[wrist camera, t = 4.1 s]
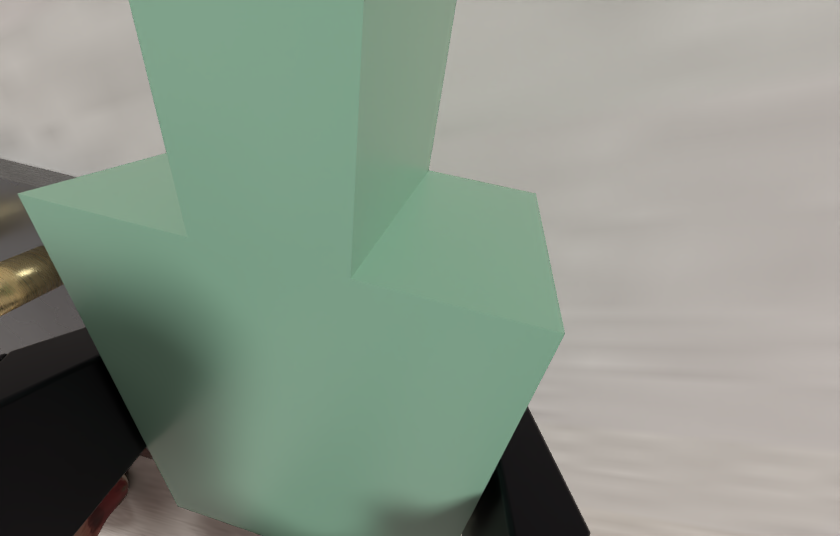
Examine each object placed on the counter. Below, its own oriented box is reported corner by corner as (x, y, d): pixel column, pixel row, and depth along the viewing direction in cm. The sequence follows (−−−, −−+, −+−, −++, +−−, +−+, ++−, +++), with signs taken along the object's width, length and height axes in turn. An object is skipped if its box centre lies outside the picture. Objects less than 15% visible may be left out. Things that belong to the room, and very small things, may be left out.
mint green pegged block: (595, 20, 5) (765, -56, 2) (439, 470, 12) (412, 627, 9) (226, -40, 6) (-176, -181, 2) (281, 422, 13) (200, 551, 9)
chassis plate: (157, 197, 12) (16, 252, 9) (231, 462, 22) (179, 538, 18) (-156, 120, 14) (-385, 141, 10) (44, 400, 23) (-38, 461, 20)
